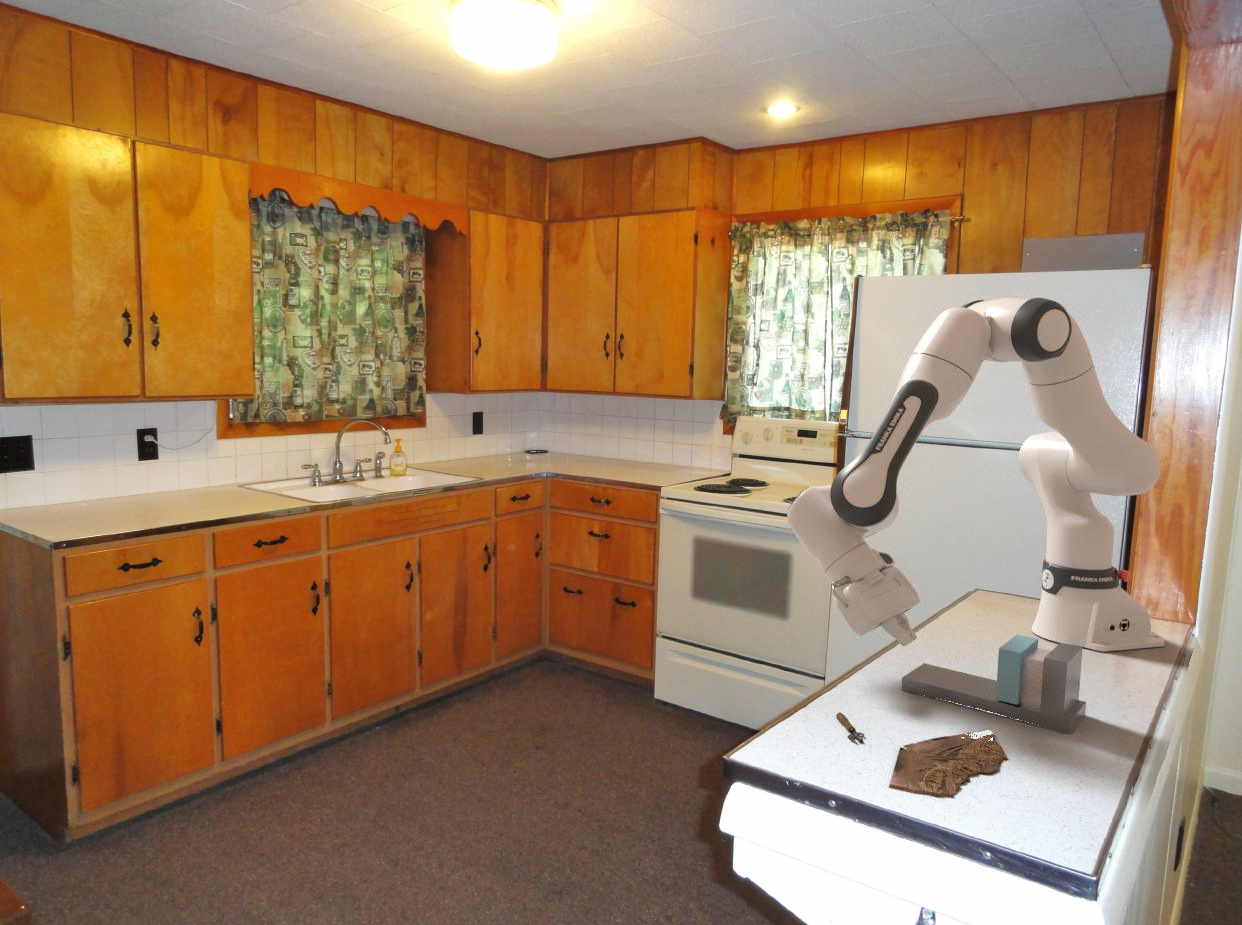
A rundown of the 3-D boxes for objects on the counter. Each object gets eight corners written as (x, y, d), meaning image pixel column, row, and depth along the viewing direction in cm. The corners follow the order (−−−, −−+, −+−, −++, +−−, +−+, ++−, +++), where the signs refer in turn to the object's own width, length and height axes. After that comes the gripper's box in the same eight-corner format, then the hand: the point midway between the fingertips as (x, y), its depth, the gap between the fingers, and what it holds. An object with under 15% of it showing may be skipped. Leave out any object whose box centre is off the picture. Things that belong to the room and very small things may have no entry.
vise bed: (901, 689, 131) (904, 628, 130) (923, 674, 138) (926, 616, 137) (1070, 734, 116) (1075, 664, 115) (1085, 715, 122) (1090, 649, 121)
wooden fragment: (934, 810, 95) (935, 801, 95) (853, 774, 104) (854, 765, 104) (1038, 750, 112) (1039, 742, 112) (961, 723, 120) (961, 716, 120)
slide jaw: (995, 699, 122) (999, 648, 121) (1013, 682, 129) (1017, 634, 128) (1017, 704, 120) (1021, 653, 119) (1034, 687, 127) (1038, 638, 126)
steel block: (1020, 703, 121) (1023, 657, 120) (1031, 692, 126) (1035, 647, 125) (1042, 709, 119) (1046, 662, 118) (1053, 697, 124) (1057, 651, 123)
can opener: (835, 719, 120) (835, 711, 120) (851, 719, 120) (852, 711, 120) (851, 747, 111) (852, 739, 111) (869, 748, 111) (869, 739, 111)
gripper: (841, 572, 130) (899, 647, 125) (894, 552, 145) (947, 618, 140) (814, 595, 133) (869, 669, 128) (868, 573, 149) (919, 638, 143)
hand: (910, 642), depth 134 cm, fingers closed
